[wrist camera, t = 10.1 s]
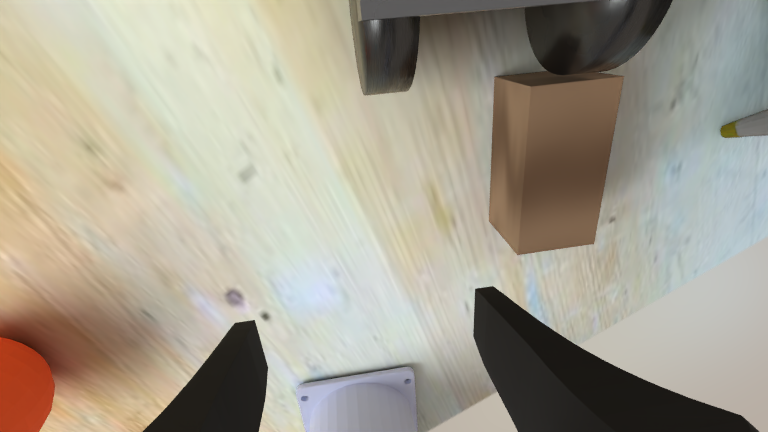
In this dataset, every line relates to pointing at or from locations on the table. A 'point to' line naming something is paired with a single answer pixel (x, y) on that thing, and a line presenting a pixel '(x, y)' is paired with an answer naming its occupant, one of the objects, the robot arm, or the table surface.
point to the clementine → (23, 388)
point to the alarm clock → (747, 126)
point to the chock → (551, 157)
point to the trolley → (544, 26)
